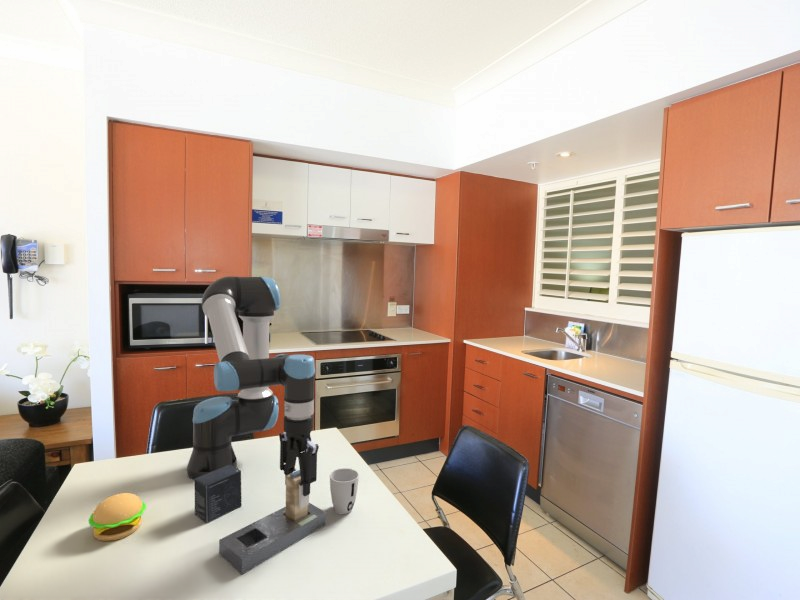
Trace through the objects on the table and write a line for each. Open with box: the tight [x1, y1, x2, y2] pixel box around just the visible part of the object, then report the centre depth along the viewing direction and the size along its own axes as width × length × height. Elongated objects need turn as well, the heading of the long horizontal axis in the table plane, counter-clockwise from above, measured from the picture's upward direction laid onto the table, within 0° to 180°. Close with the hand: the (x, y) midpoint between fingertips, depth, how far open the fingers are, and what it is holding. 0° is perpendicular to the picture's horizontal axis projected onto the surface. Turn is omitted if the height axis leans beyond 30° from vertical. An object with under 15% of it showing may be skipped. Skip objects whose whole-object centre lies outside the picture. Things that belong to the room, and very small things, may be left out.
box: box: [193, 465, 242, 524], centre depth 113 cm, size 11×7×10 cm, turn 145°
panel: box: [218, 502, 327, 575], centre depth 102 cm, size 10×24×4 cm, turn 141°
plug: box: [285, 469, 308, 522], centre depth 107 cm, size 4×4×15 cm
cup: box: [329, 467, 360, 515], centre depth 116 cm, size 8×8×10 cm
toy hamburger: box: [88, 492, 147, 542], centre depth 104 cm, size 12×12×9 cm
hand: (297, 502), depth 107 cm, fingers open, 5 cm apart
